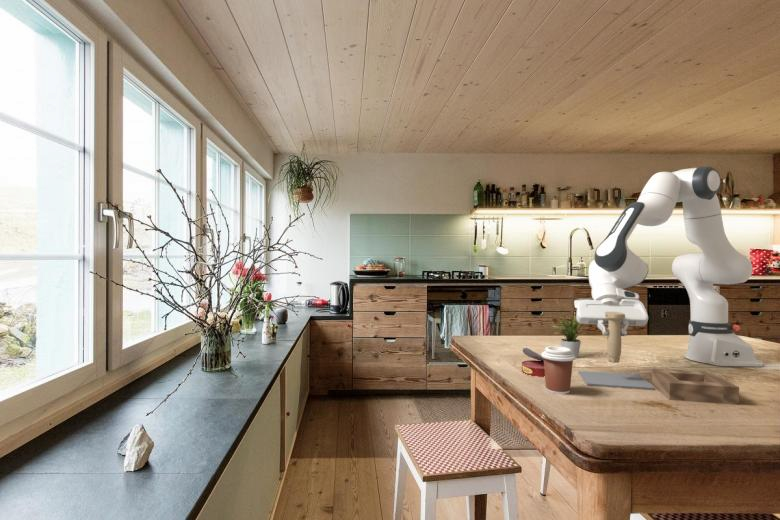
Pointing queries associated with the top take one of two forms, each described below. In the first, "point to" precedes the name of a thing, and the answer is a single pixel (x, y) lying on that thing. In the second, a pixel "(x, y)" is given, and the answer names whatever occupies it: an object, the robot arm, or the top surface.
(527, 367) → the canned food
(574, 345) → the house plant
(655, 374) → the tray
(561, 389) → the coffee cup
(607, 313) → the handle
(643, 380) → the mat
